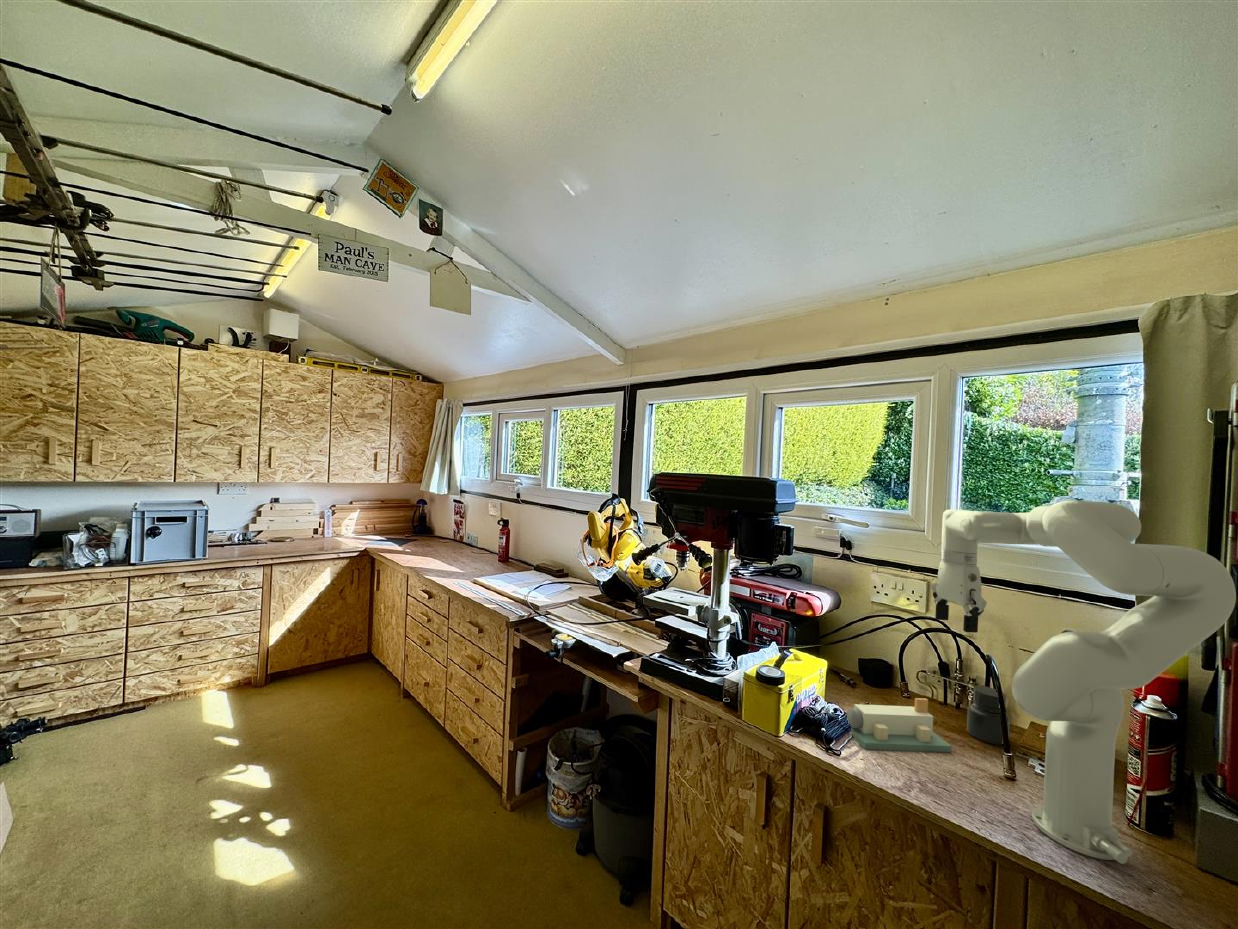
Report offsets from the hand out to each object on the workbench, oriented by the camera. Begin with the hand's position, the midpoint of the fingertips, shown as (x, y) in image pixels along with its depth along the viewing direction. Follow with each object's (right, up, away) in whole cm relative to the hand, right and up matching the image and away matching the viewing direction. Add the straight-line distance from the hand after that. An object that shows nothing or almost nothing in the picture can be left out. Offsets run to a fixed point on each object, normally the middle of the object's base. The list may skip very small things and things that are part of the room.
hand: (955, 625), depth 122 cm
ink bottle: (+12, -31, +5) cm, 34 cm away
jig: (-15, -30, +3) cm, 33 cm away
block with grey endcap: (-15, -28, +3) cm, 32 cm away
